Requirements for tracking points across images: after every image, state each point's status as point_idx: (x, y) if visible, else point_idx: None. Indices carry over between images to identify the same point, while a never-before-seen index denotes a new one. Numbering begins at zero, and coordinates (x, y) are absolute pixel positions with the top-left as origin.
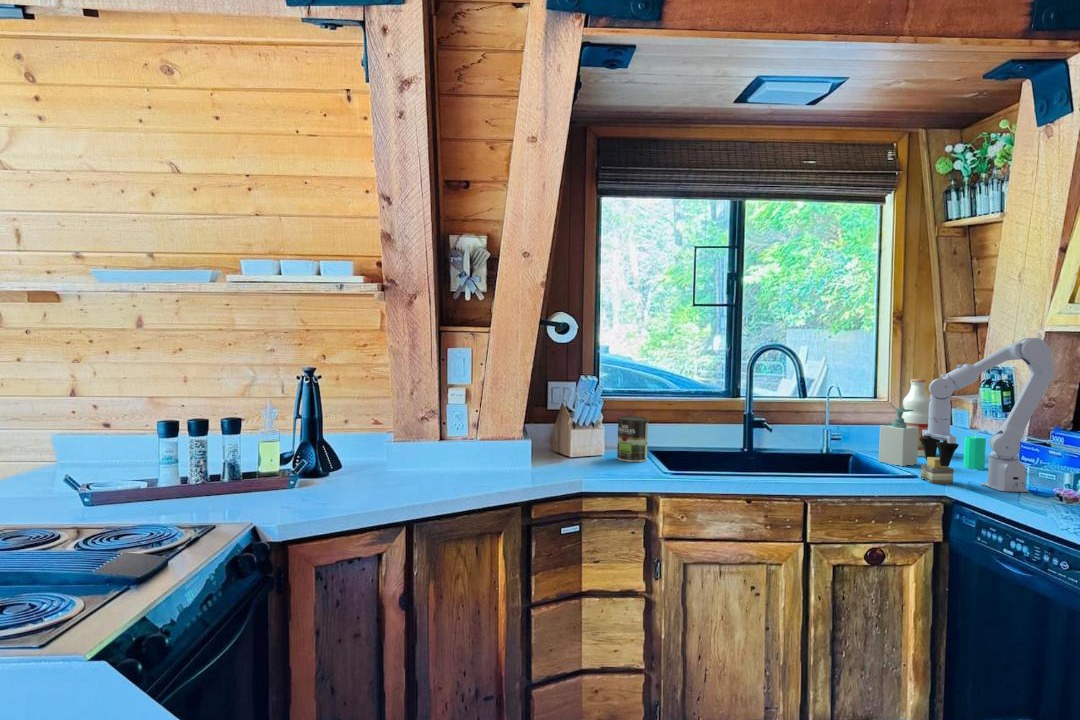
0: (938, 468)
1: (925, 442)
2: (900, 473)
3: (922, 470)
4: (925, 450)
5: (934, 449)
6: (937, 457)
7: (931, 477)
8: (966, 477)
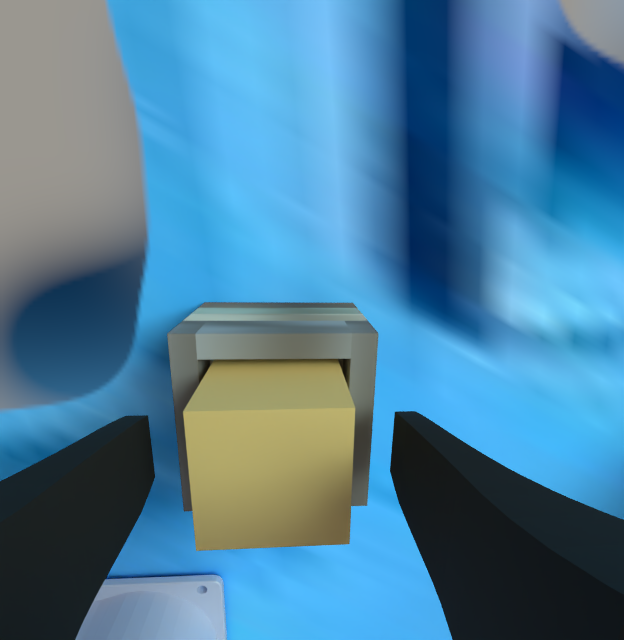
0: (175, 389)
1: (545, 583)
2: (543, 255)
3: (343, 318)
4: (463, 466)
5: (450, 590)
6: (328, 505)
7: (203, 311)
8: (413, 592)
